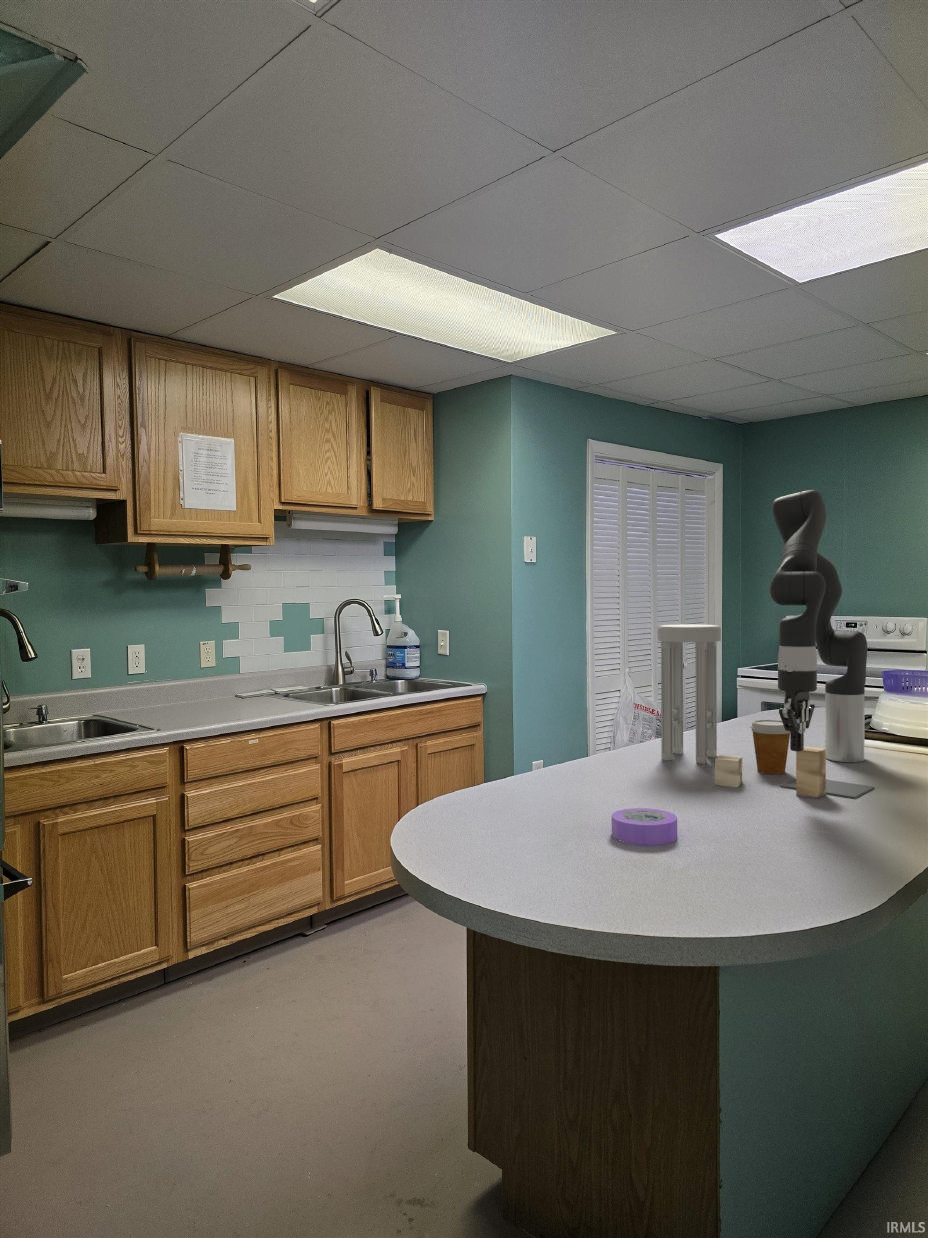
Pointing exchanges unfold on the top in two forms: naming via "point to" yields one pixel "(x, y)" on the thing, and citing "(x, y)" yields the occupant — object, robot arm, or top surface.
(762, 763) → the disposable coffee cup
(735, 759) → the maple block
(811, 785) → the oak block
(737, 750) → the top surface
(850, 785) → the mat
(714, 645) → the stool
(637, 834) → the masking tape
